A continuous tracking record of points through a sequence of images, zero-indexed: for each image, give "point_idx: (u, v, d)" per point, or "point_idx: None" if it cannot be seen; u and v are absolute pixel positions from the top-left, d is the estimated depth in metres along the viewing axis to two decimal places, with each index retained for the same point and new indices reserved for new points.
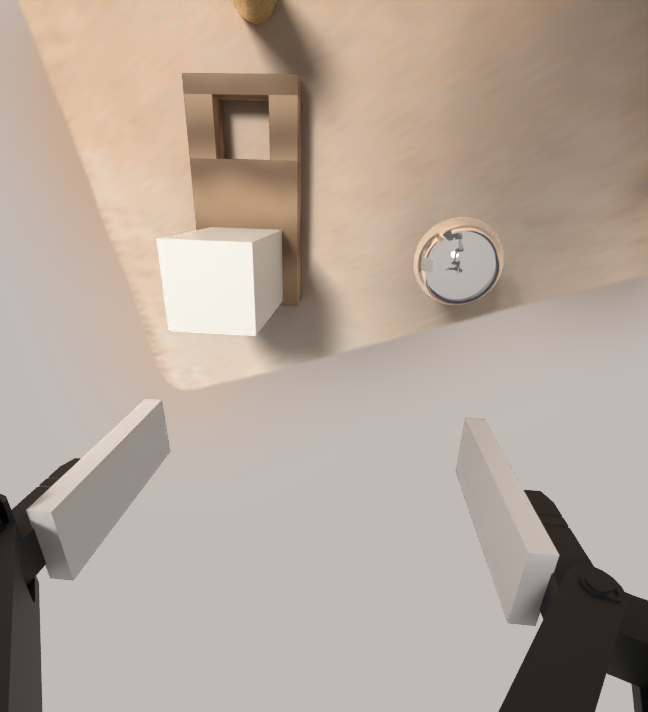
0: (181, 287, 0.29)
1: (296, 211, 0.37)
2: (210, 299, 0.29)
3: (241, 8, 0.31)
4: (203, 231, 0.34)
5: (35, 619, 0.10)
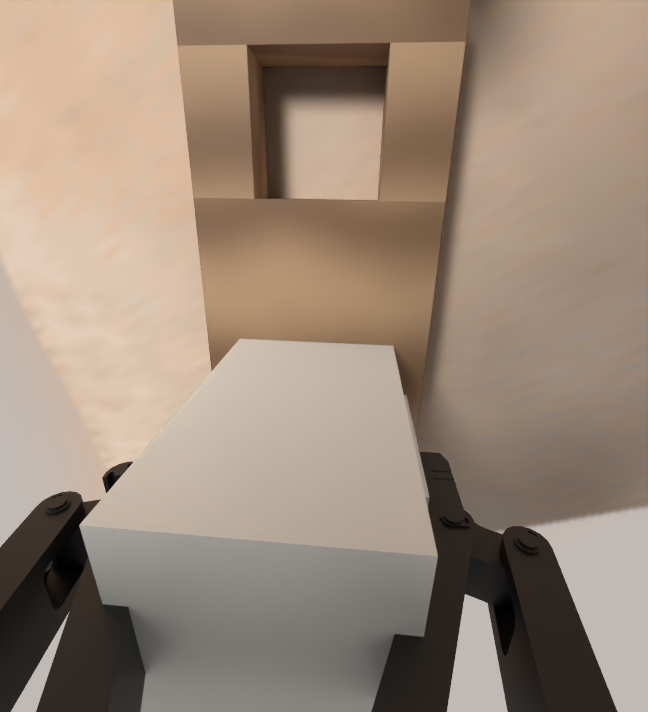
0: (173, 645, 0.09)
1: (429, 310, 0.17)
2: (268, 677, 0.09)
3: None
4: (229, 384, 0.13)
5: None
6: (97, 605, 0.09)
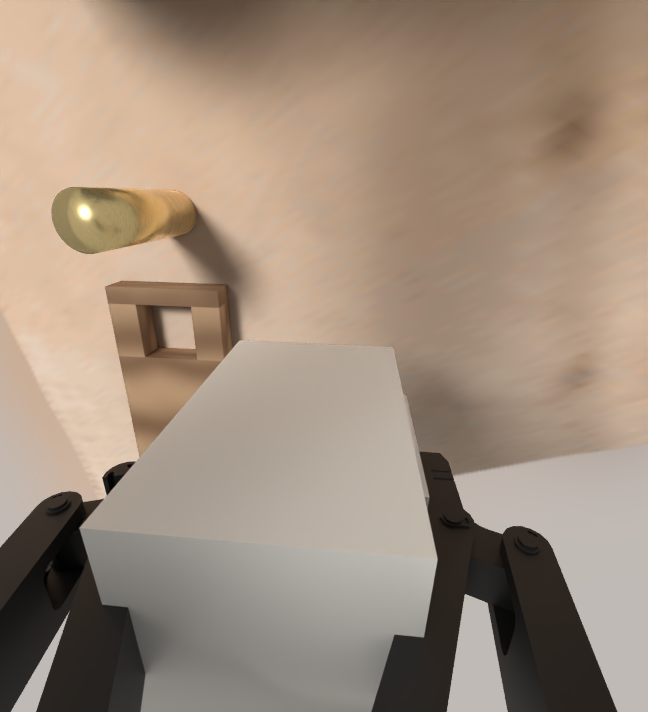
0: (173, 648, 0.09)
1: None
2: (268, 679, 0.09)
3: None
4: (229, 386, 0.13)
5: None
6: (97, 605, 0.09)
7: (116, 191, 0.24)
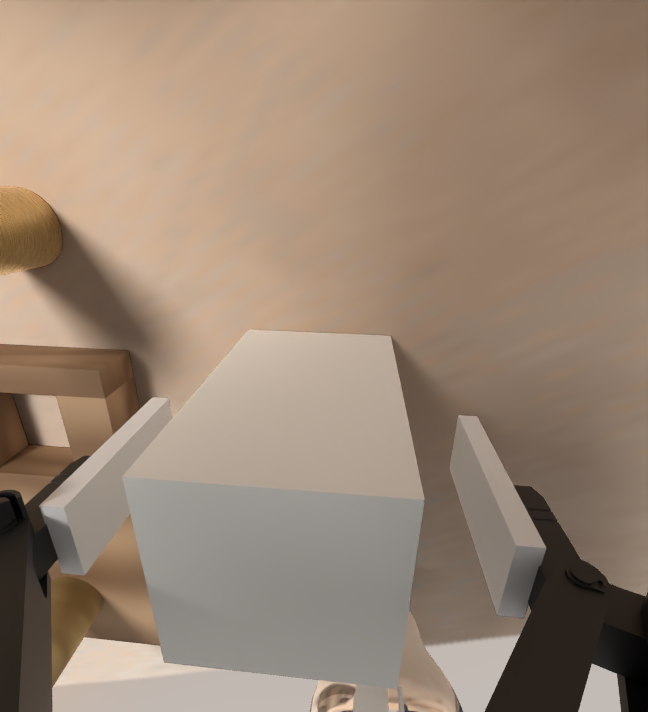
0: (198, 586, 0.10)
1: (136, 541, 0.22)
2: (280, 615, 0.10)
3: None
4: (241, 368, 0.15)
5: (47, 614, 0.10)
6: None
7: None
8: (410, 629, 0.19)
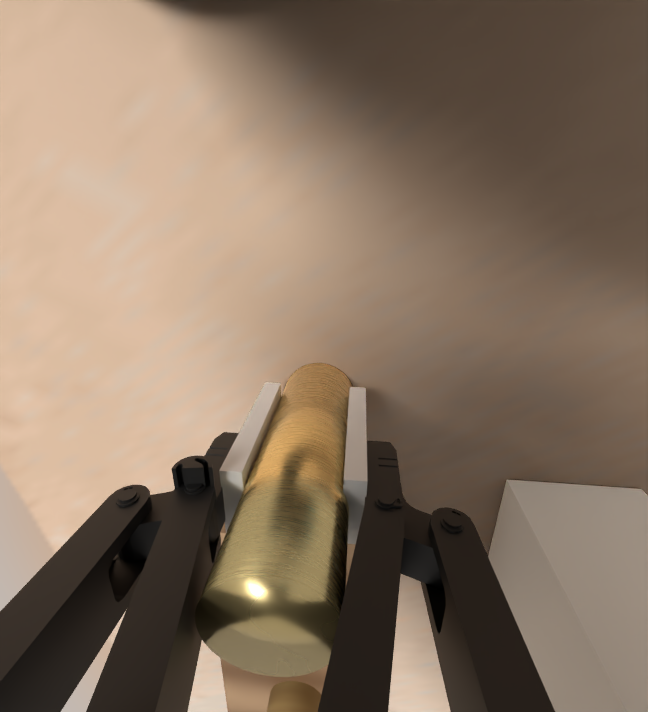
0: None
1: None
2: None
3: None
4: (567, 552, 0.17)
5: None
6: (156, 596, 0.09)
7: (313, 502, 0.11)
8: None
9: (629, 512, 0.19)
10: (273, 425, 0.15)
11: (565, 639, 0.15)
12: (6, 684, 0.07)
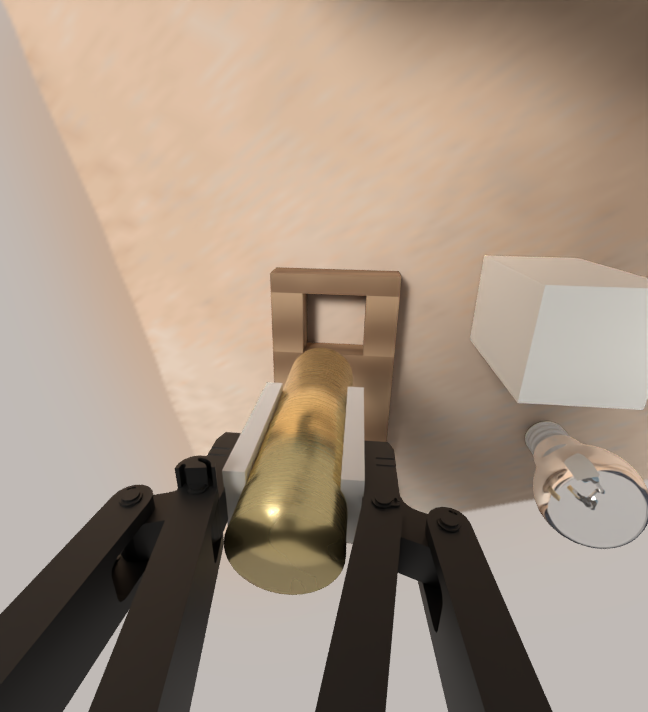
0: (558, 348, 0.21)
1: (388, 403, 0.33)
2: (595, 364, 0.22)
3: None
4: (519, 265, 0.26)
5: (212, 579, 0.11)
6: (159, 596, 0.09)
7: (319, 454, 0.13)
8: None
9: (565, 260, 0.28)
10: (282, 399, 0.17)
11: (514, 297, 0.24)
12: (9, 684, 0.07)
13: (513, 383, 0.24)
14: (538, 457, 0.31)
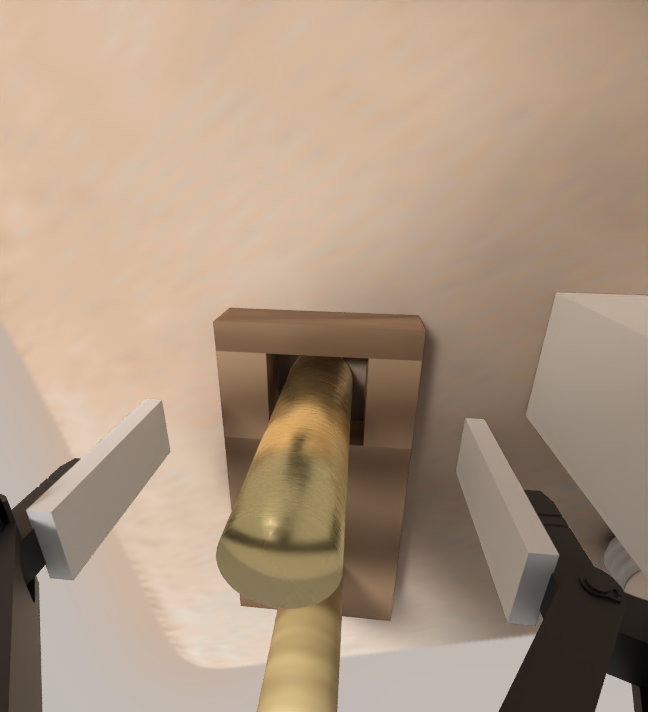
0: None
1: (402, 511, 0.22)
2: None
3: None
4: (641, 321, 0.15)
5: (35, 619, 0.10)
6: None
7: (316, 462, 0.13)
8: None
9: None
10: (279, 403, 0.17)
11: None
12: None
13: None
14: None
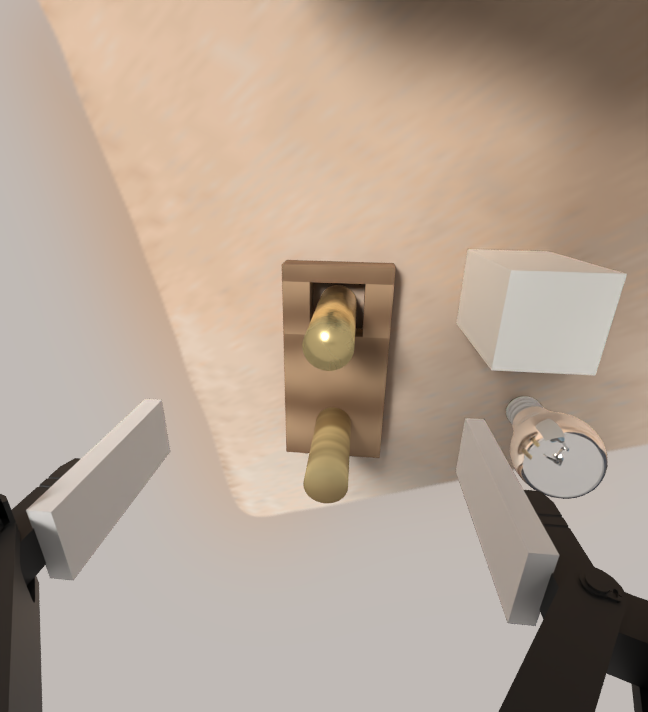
0: (523, 323, 0.26)
1: (385, 379, 0.38)
2: (554, 336, 0.26)
3: None
4: (495, 256, 0.30)
5: (35, 619, 0.10)
6: None
7: (341, 314, 0.28)
8: None
9: (536, 253, 0.33)
10: (319, 303, 0.33)
11: (489, 282, 0.29)
12: None
13: (488, 354, 0.28)
14: (515, 425, 0.36)
